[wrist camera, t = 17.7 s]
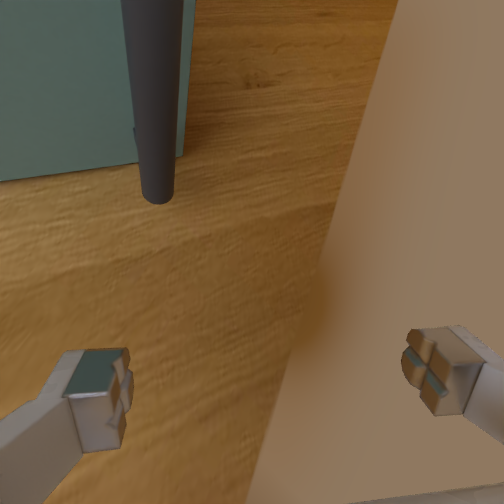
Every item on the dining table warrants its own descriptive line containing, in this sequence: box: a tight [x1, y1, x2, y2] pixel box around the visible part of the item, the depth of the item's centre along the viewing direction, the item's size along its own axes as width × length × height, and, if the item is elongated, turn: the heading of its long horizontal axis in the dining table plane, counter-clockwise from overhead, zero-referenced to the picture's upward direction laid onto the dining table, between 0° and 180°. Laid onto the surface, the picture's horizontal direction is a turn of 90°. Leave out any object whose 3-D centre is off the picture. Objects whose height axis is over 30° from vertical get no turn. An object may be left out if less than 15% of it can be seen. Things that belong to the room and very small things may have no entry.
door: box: [0, 0, 196, 204], centre depth 13 cm, size 6×16×17 cm, turn 110°
